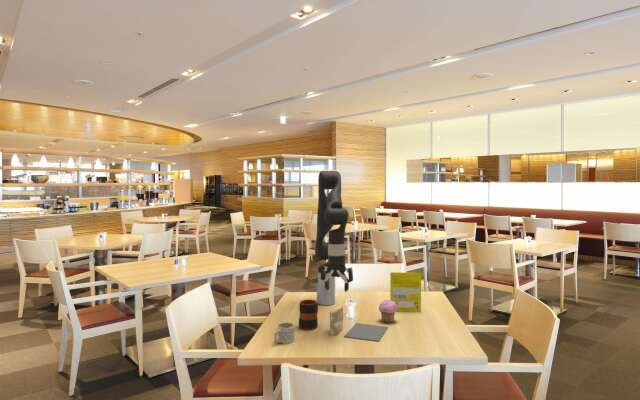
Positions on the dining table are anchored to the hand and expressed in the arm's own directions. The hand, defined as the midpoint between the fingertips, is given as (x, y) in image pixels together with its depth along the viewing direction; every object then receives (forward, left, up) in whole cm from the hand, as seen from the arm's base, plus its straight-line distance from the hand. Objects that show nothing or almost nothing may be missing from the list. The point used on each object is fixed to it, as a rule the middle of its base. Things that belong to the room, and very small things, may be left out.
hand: (336, 290), depth 190 cm
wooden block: (0, 0, -19) cm, 19 cm away
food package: (+23, +40, -19) cm, 50 cm away
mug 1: (-17, -19, -19) cm, 32 cm away
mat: (+12, +4, -19) cm, 23 cm away
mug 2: (-14, +3, -19) cm, 24 cm away
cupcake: (+18, +22, -19) cm, 34 cm away
